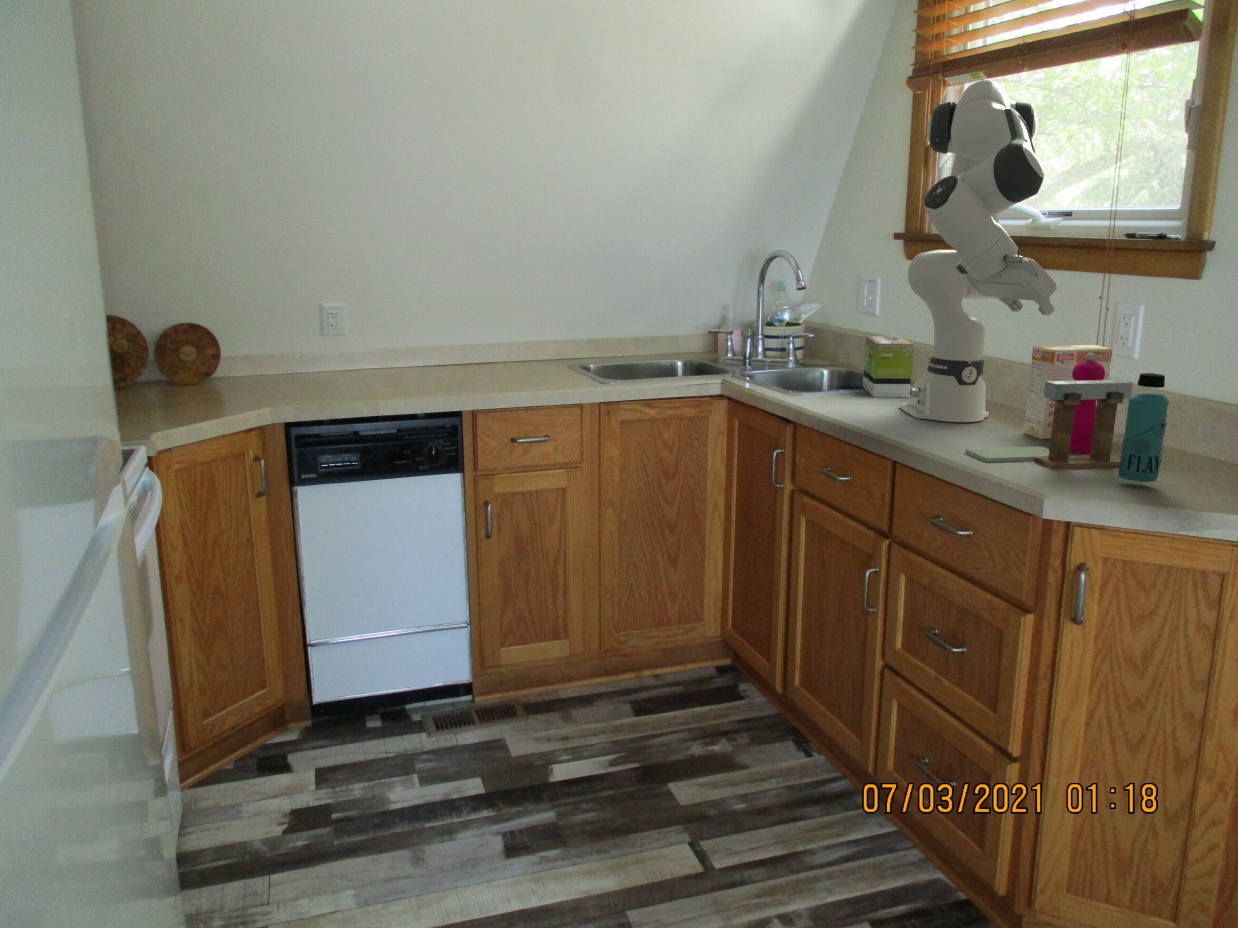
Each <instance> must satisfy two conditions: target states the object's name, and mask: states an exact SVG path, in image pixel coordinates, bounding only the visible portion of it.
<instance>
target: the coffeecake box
mask: <svg viewBox="0 0 1238 928" xmlns="http://www.w3.org/2000/svg"><path fill="white" fill-rule="evenodd" d="M1088 353H1093V354H1094V355H1095V360H1094V361H1096V362H1098V363H1100V364H1101V365H1102V366H1103V367H1104V369H1105V377H1104V379H1103V380H1110V379H1109V377H1110V370H1111V363H1112V362H1111V361H1112V356H1113V355H1112V354H1113V348H1111V347H1107V346H1106V347H1105V346H1102V345H1098V344H1081V345H1079V344H1078V345H1077V344H1075V345H1074V344H1072V345H1068V344H1067V345H1034V346H1032V353H1031V362H1030V363H1031V364H1030V372H1029V382H1028V383H1029V385H1028V392H1027V398H1026V399H1027V401H1026V409H1025V410H1026V411H1025V418H1024V426H1023V427H1024V428H1023V434H1025V435H1027V434H1028V435H1027V436H1030V435H1031V437H1035V438H1037V439H1040V440H1051V432H1052V424H1053V416H1054V408H1055V401H1052V400H1051V399H1049V398H1045V397H1044V389H1045V381H1075V380H1074V379H1073V377H1072V371H1073V368H1074V366H1075V365H1076V364H1077V363H1079V362H1081V361H1087V360H1086V355H1087V354H1088ZM1096 406H1097V400H1096Z"/></svg>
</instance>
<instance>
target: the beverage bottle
mask: <svg viewBox="0 0 1238 928" xmlns="http://www.w3.org/2000/svg"><path fill="white" fill-rule="evenodd" d="M1165 380H1166V378H1165V375H1164V374H1162V373H1152V372H1151V373H1150V372H1148V373H1147V372H1146V373H1145V372H1144V373H1140V374H1139V377H1138V380H1137V386H1140V387H1145V388H1155V389H1156V388H1157V389H1158V388H1165V385H1166V384H1165ZM1169 404H1170V400H1169V399H1168V397H1166V395H1164V394H1163V393H1160V392H1154V391H1137V392H1135V393H1134V394H1131V397H1129V398H1128V405H1127V413H1126V420H1125V428H1124V432H1123V433H1124V435H1123V441H1122V442H1121V443H1122V444H1121V451H1120V458H1119V459H1118V460H1119V461H1120V464H1119V467H1118V471H1117V472H1118V477H1120V479H1124V480H1126V481H1131V482H1132V481H1133V482H1139V483H1140V482H1141V483H1152V482H1156V481H1157V479H1158V478H1159V473H1160V470H1161V464H1162V463H1161V462H1162V460H1161V458H1163V457H1162V456H1163V455H1162V454H1163V453H1162V452H1163V448H1164V445H1163V443H1164V438H1165V434H1166V428H1167V418H1168V407H1169Z"/></svg>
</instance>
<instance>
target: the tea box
mask: <svg viewBox="0 0 1238 928" xmlns="http://www.w3.org/2000/svg"><path fill="white" fill-rule="evenodd" d="M864 345H865V346H864V363H863V375H862V376H863V377H862V378H863V379H862V387H863V388H864V389H865V390H866V391H867V392H868V393H869V394H870V395H871V396H872V397H873V398H897V397H899V398H900V397H902V398H910V394H909V392H910V389H911V388H912V373H913V372H912V371H913V359H914V358H913V357H914V348H915V347H914V343H913V342H910V341H909V340H907V339H905V338H903V337H902V336H890V335H889V336H888V335H887V336H886V335H885V336H884V335H883V336H880V335H879V336H874V335H873V336H865V342H864Z"/></svg>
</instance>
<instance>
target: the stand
mask: <svg viewBox="0 0 1238 928" xmlns="http://www.w3.org/2000/svg"><path fill="white" fill-rule="evenodd" d="M1123 397H1124V393H1110V399H1094V400H1097V406H1096V414H1095V421H1094V429H1093V437H1092V444H1091V452H1090V453H1089V454H1079V455H1077V454H1076V455H1070V452H1069V450H1070V442H1071V434H1072V426H1073V419H1074V411H1075V405H1080V401H1081V394H1068V396H1067V400H1052V399H1051V400H1052V401H1055V408H1054V416H1053V424H1052V432H1051V439H1050V441H1049V448H1048V449H1049V456H1047V457H1035V458H1034V461H1033V462H1034V463H1036V464H1039V465H1041V466H1043V467H1046V468H1049V469H1050V470H1069V469H1073V470H1074V469H1096V468H1097V469H1099V468H1100V469H1101V468H1119V464H1120V461H1119V460H1120V459H1117V458H1115V457H1113V456H1112V457H1111V453H1112V447H1113V446H1112V445H1113V438H1114V432H1115V424H1116V417H1117V410H1118V405H1122V404H1123V403H1124V399H1123Z"/></svg>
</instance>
